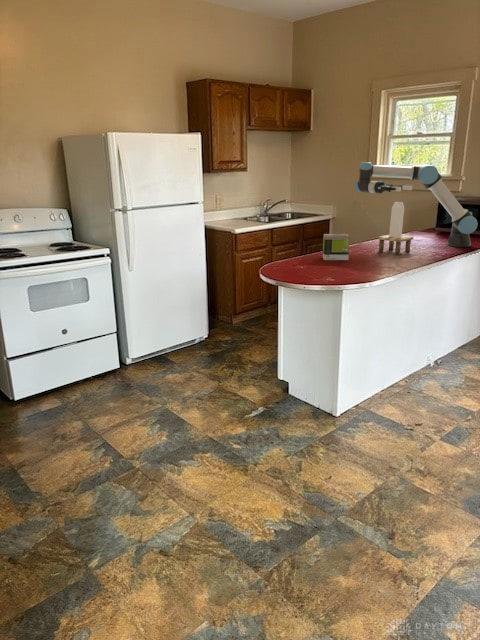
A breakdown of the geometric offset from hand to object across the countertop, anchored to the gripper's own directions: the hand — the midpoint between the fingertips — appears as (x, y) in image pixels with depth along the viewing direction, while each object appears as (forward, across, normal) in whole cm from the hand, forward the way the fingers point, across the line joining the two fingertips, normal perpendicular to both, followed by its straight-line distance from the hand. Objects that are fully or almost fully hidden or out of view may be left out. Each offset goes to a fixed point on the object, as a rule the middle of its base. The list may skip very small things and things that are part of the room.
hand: (406, 188), depth 310 cm
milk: (-2, +5, -30) cm, 31 cm away
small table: (-2, +5, -40) cm, 40 cm away
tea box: (-16, +50, -40) cm, 66 cm away
